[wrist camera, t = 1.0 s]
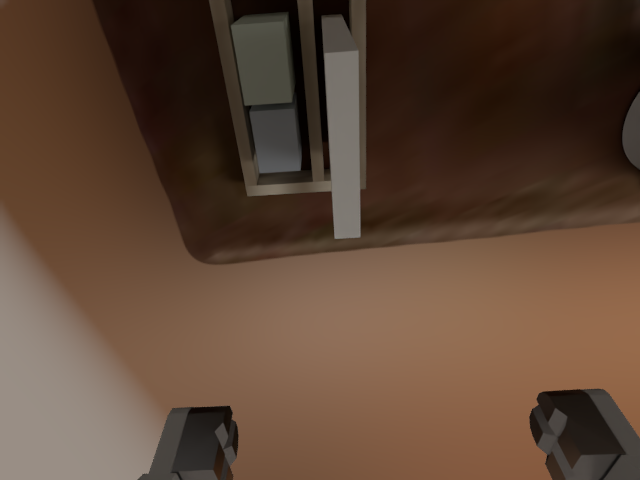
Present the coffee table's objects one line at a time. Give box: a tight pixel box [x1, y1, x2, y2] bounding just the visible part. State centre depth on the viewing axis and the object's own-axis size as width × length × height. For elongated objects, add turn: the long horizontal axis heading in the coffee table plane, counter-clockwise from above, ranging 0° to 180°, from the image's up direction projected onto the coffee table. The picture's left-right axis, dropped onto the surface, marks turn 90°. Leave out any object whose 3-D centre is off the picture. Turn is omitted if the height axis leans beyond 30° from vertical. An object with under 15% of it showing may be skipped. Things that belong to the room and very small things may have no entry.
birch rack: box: [209, 0, 366, 196], centre depth 38 cm, size 13×20×3 cm, turn 4°
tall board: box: [321, 14, 360, 239], centre depth 32 cm, size 2×12×18 cm, turn 4°
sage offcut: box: [231, 12, 296, 106], centre depth 34 cm, size 4×6×7 cm, turn 4°
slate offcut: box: [249, 92, 302, 173], centre depth 39 cm, size 4×6×6 cm, turn 4°
